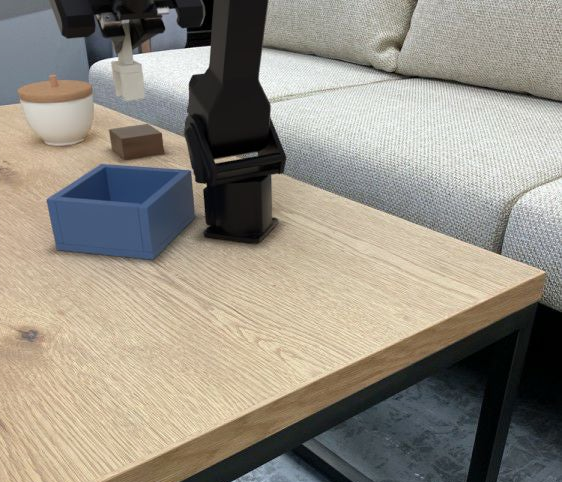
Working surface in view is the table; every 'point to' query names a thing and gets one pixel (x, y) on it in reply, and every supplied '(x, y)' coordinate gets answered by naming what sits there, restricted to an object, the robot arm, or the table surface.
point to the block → (136, 141)
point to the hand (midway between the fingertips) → (121, 50)
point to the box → (122, 210)
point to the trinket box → (58, 110)
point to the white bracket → (128, 71)
